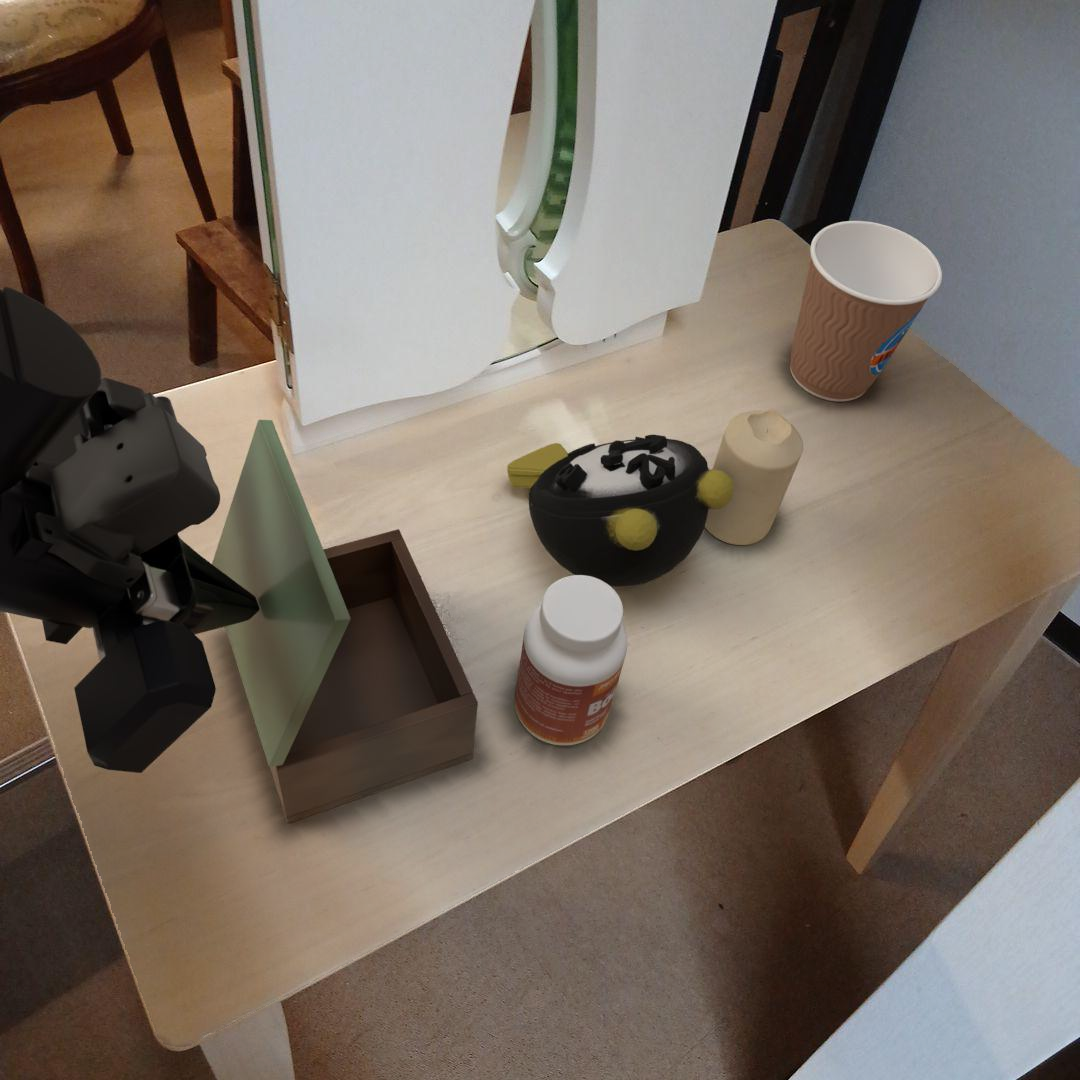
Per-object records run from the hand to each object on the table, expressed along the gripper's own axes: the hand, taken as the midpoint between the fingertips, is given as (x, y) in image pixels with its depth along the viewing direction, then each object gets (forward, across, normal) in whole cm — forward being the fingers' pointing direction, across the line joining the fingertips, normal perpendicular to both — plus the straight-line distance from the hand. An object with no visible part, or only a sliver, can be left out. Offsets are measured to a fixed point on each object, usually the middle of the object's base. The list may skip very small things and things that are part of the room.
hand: (253, 609), depth 57 cm
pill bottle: (+21, -5, -3) cm, 22 cm away
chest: (+12, 0, +5) cm, 13 cm away
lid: (0, 0, -2) cm, 2 cm away
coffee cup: (+46, +16, -28) cm, 56 cm away
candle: (+34, +5, -17) cm, 39 cm away
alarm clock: (+27, +6, -9) cm, 29 cm away
